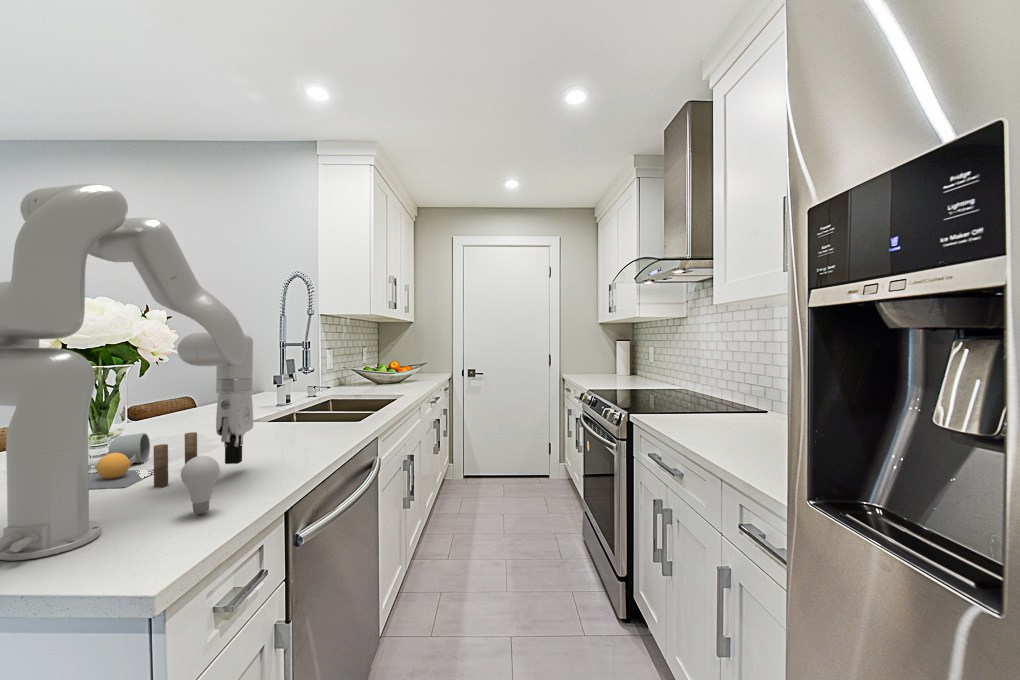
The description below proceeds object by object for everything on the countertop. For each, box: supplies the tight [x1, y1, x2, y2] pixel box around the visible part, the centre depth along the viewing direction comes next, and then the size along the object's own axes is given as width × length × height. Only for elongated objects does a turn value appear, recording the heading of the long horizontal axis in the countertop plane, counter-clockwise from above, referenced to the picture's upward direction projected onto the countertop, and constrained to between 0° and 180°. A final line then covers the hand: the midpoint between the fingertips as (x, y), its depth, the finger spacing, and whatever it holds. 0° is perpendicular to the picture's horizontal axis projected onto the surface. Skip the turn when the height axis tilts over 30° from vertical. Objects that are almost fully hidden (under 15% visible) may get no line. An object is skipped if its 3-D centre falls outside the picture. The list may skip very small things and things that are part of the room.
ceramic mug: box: [109, 432, 151, 467], centre depth 124 cm, size 11×8×8 cm
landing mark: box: [89, 468, 154, 490], centre depth 111 cm, size 14×14×1 cm
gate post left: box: [153, 443, 169, 488], centre depth 107 cm, size 3×3×9 cm
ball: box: [96, 453, 130, 479], centre depth 112 cm, size 6×6×6 cm
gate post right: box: [184, 431, 198, 465], centre depth 120 cm, size 3×3×9 cm
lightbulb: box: [180, 455, 221, 516], centre depth 90 cm, size 6×6×11 cm
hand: (233, 462), depth 115 cm, fingers closed
